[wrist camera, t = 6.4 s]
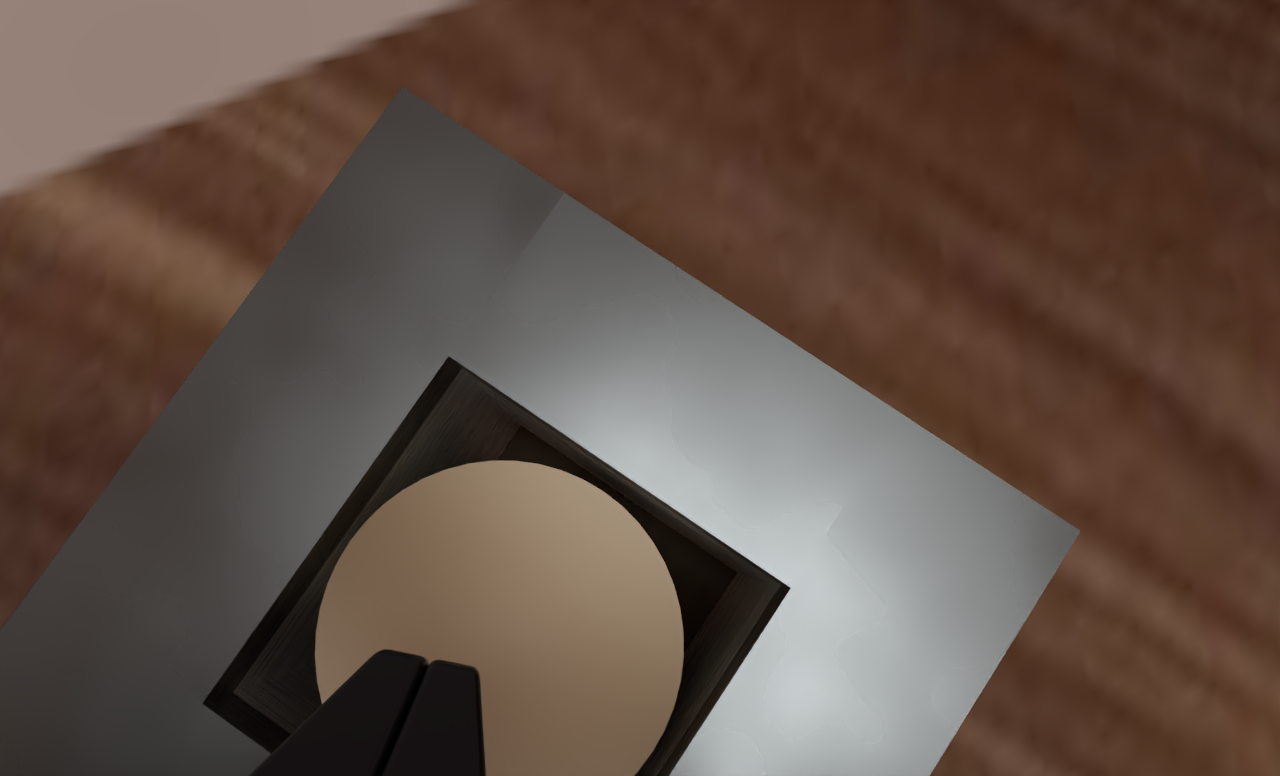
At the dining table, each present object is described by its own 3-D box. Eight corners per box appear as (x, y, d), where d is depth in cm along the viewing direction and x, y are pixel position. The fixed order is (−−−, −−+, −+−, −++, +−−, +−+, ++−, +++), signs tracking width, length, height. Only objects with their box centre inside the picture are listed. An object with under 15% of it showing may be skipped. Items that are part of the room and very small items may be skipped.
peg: (582, 780, 20) (546, 916, 13) (387, 641, 21) (241, 695, 13) (716, 577, 21) (755, 594, 13) (522, 445, 21) (455, 391, 14)
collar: (623, 1000, 20) (609, 1294, 12) (183, 680, 21) (-97, 762, 13) (919, 536, 21) (1080, 531, 13) (490, 251, 22) (402, 86, 14)
